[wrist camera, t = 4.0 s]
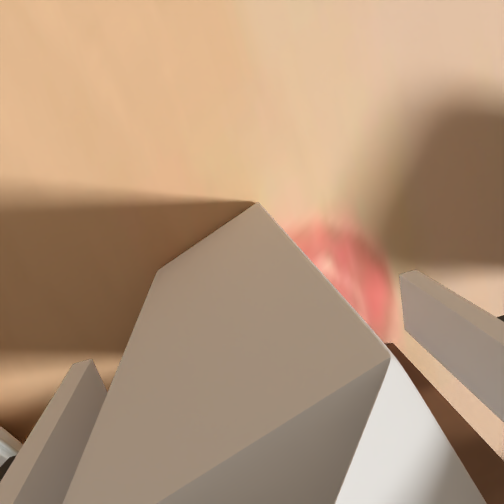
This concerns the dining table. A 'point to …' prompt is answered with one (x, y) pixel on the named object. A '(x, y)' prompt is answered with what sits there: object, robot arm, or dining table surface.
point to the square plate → (8, 445)
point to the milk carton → (261, 392)
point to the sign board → (460, 436)
